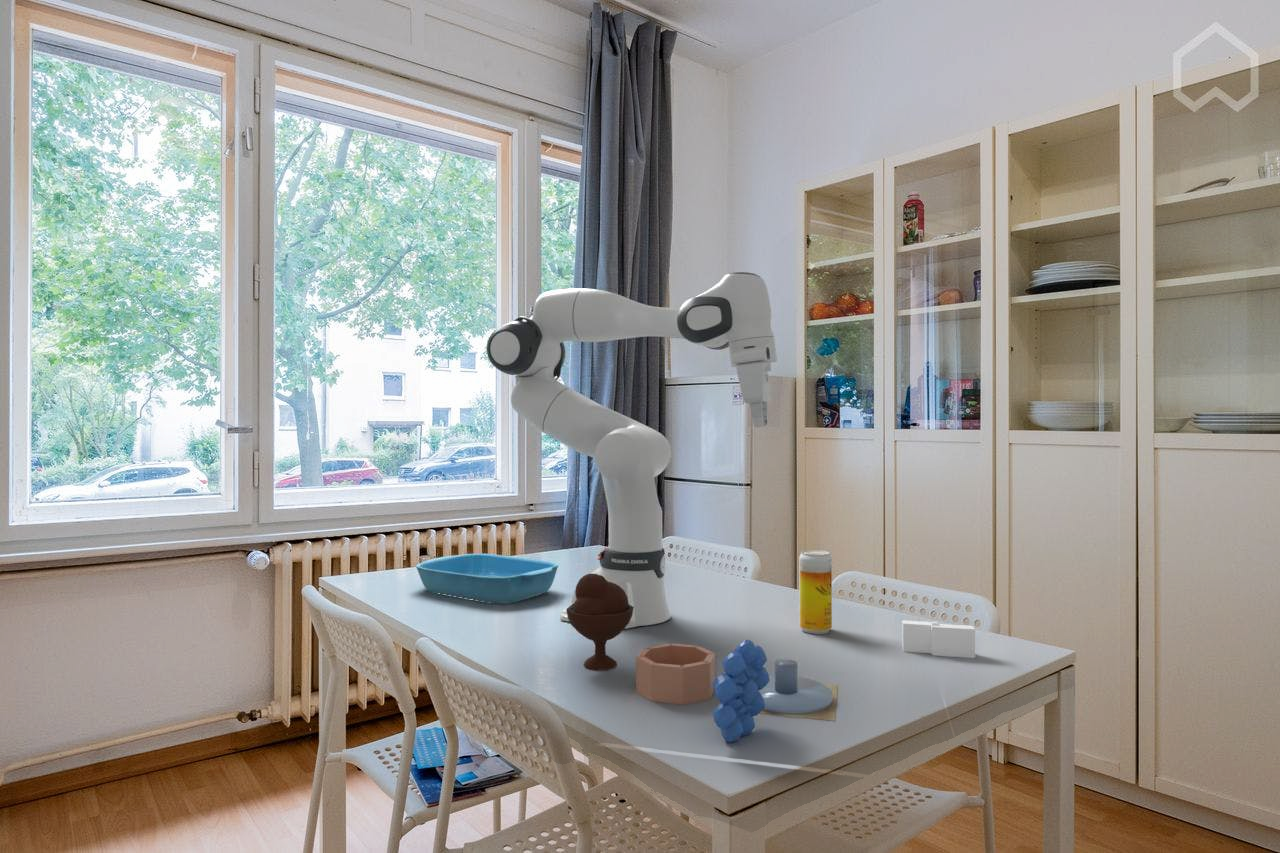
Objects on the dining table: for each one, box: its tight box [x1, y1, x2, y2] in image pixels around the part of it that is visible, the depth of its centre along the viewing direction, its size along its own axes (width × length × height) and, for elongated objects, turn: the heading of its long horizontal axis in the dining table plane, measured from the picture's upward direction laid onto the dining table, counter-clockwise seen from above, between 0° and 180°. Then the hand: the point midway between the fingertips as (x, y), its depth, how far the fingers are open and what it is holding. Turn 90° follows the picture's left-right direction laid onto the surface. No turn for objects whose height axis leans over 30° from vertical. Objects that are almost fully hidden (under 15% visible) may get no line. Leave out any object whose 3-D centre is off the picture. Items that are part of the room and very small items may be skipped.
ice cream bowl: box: [566, 573, 634, 671], centre depth 126 cm, size 11×11×15 cm
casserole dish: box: [415, 553, 559, 604], centre depth 181 cm, size 37×22×7 cm, turn 54°
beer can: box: [798, 549, 833, 635], centre depth 146 cm, size 6×6×15 cm
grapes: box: [712, 639, 770, 744], centre depth 97 cm, size 12×7×12 cm, turn 143°
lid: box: [759, 658, 833, 715], centre depth 109 cm, size 13×13×5 cm
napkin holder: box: [901, 619, 976, 659], centre depth 133 cm, size 15×11×6 cm
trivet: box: [758, 684, 839, 722], centre depth 109 cm, size 14×14×1 cm
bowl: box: [635, 643, 717, 705], centre depth 113 cm, size 11×11×6 cm
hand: (761, 426), depth 148 cm, fingers open, 8 cm apart
